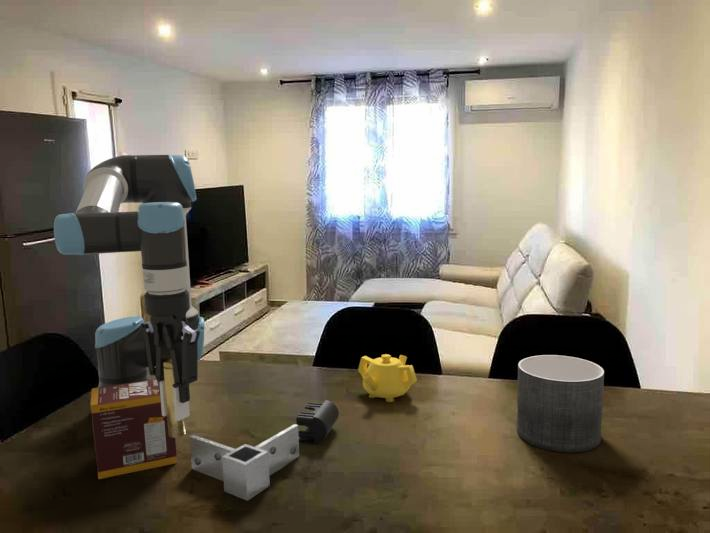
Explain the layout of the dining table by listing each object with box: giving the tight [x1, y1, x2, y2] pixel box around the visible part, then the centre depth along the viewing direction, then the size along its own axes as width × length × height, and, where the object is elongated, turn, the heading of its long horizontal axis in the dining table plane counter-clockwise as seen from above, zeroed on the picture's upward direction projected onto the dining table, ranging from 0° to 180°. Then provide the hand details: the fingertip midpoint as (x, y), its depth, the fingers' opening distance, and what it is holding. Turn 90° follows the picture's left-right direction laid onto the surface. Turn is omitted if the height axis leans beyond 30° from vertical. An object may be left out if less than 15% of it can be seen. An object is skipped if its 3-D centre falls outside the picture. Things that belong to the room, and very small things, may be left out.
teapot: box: [357, 353, 418, 403], centre depth 151 cm, size 20×18×11 cm
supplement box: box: [89, 378, 178, 480], centre depth 118 cm, size 10×15×16 cm
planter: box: [516, 354, 605, 454], centre depth 125 cm, size 18×18×16 cm
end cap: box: [295, 399, 340, 446], centre depth 128 cm, size 10×7×7 cm
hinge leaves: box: [189, 423, 300, 501], centre depth 114 cm, size 18×18×7 cm
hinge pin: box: [163, 359, 187, 439], centre depth 103 cm, size 3×3×14 cm
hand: (175, 415), depth 103 cm, fingers closed on hinge pin, 3 cm apart
